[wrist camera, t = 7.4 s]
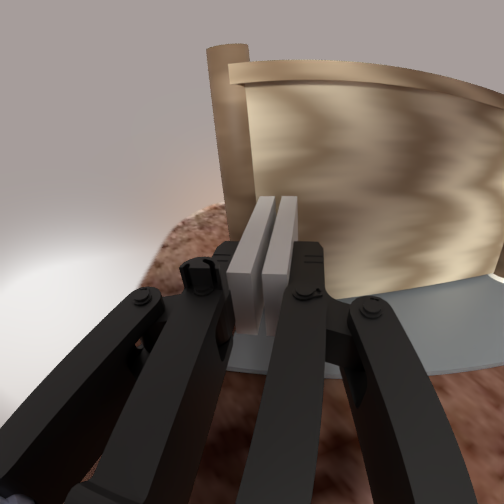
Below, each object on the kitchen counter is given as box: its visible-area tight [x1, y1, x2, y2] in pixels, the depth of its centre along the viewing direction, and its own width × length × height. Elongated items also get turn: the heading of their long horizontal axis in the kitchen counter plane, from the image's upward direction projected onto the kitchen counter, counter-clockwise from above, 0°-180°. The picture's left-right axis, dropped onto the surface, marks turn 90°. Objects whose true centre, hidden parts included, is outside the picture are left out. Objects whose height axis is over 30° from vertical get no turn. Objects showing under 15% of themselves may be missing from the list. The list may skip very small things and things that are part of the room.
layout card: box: [226, 273, 504, 379], centre depth 21 cm, size 35×22×1 cm, turn 79°
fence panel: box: [206, 44, 504, 299], centre depth 15 cm, size 21×2×15 cm, turn 91°
